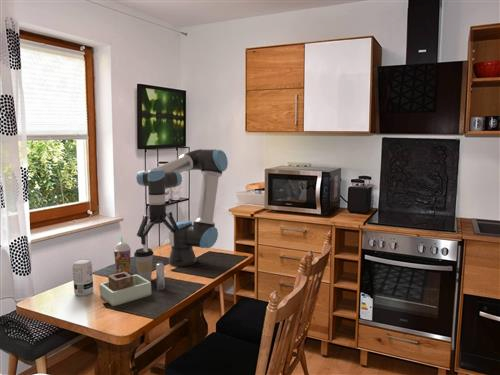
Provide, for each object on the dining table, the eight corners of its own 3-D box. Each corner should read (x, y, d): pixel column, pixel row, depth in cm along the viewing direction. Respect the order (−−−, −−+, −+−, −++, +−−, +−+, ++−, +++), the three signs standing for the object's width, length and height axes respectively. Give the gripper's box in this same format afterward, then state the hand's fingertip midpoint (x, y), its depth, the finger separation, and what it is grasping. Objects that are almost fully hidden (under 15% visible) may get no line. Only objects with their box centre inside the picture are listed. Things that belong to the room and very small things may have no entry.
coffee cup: (149, 283, 202) (148, 253, 199) (131, 282, 204) (130, 252, 201) (157, 276, 211) (156, 248, 209) (140, 275, 213) (139, 247, 210)
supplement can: (74, 291, 193) (72, 260, 190) (93, 288, 196) (91, 257, 194) (74, 297, 185) (72, 265, 183) (94, 294, 188) (92, 263, 186)
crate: (137, 286, 198) (136, 274, 197) (151, 294, 188) (150, 282, 187) (100, 296, 186) (99, 283, 186) (113, 306, 176) (112, 292, 175)
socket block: (126, 291, 191) (125, 271, 190) (134, 297, 185) (132, 276, 184) (109, 296, 186) (108, 275, 185) (116, 302, 180) (115, 280, 179)
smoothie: (119, 278, 209) (117, 239, 206) (112, 274, 215) (110, 236, 212) (134, 274, 214) (132, 236, 211) (127, 270, 220) (125, 233, 217)
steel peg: (162, 286, 198) (161, 262, 196) (166, 288, 195) (165, 264, 193) (155, 288, 195) (154, 263, 194) (159, 290, 193) (158, 265, 191)
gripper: (176, 199, 200) (178, 241, 203) (127, 205, 184) (130, 251, 187) (185, 201, 195) (186, 245, 197) (135, 207, 178) (137, 255, 181)
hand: (158, 248), depth 192 cm, fingers open, 13 cm apart
